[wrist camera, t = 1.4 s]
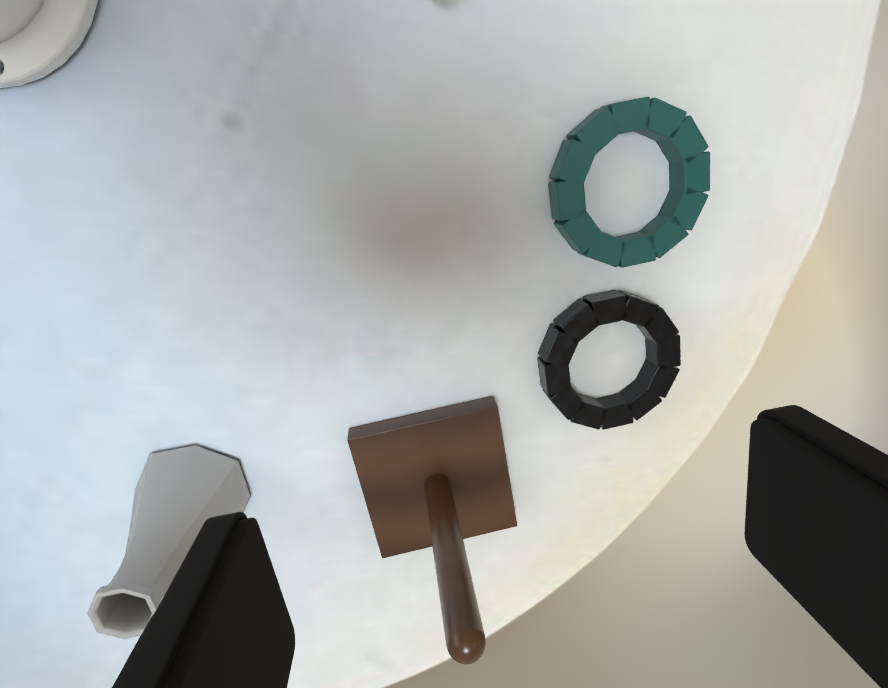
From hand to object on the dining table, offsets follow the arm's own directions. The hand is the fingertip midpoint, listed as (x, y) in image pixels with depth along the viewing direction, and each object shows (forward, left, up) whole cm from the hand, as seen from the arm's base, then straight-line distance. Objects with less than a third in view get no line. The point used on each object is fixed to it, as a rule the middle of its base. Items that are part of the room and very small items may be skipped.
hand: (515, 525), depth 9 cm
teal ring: (-3, +13, -23) cm, 26 cm away
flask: (+11, -18, -23) cm, 31 cm away
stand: (+14, -2, -23) cm, 27 cm away
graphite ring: (+8, +11, -23) cm, 26 cm away
